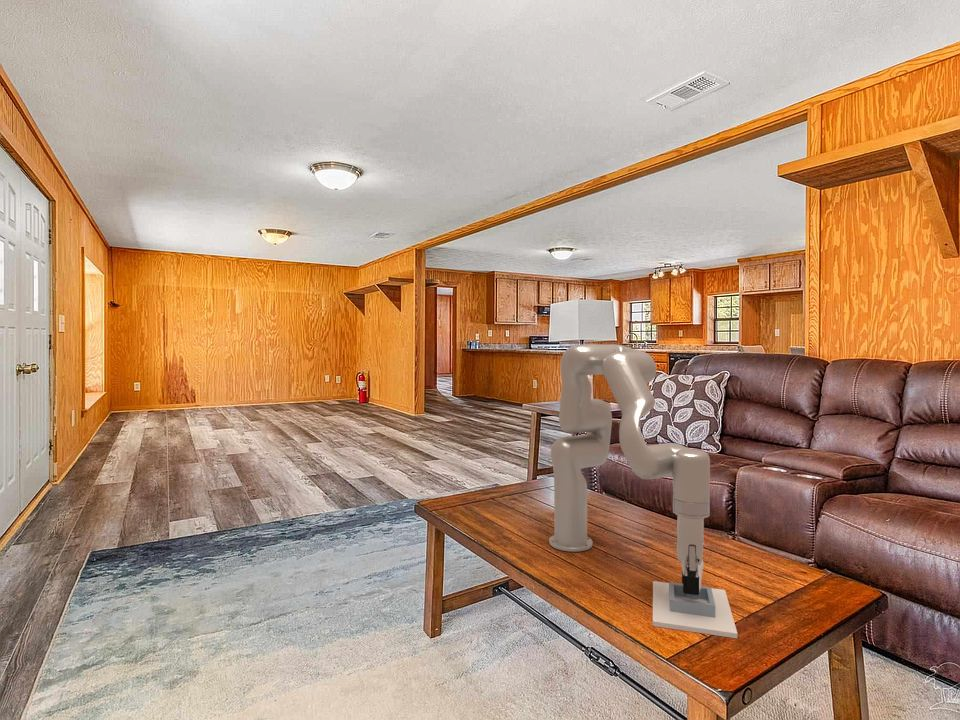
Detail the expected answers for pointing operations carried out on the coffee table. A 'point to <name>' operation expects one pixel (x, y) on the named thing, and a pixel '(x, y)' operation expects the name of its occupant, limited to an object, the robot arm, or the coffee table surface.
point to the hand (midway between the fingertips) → (690, 588)
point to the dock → (692, 610)
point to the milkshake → (700, 569)
